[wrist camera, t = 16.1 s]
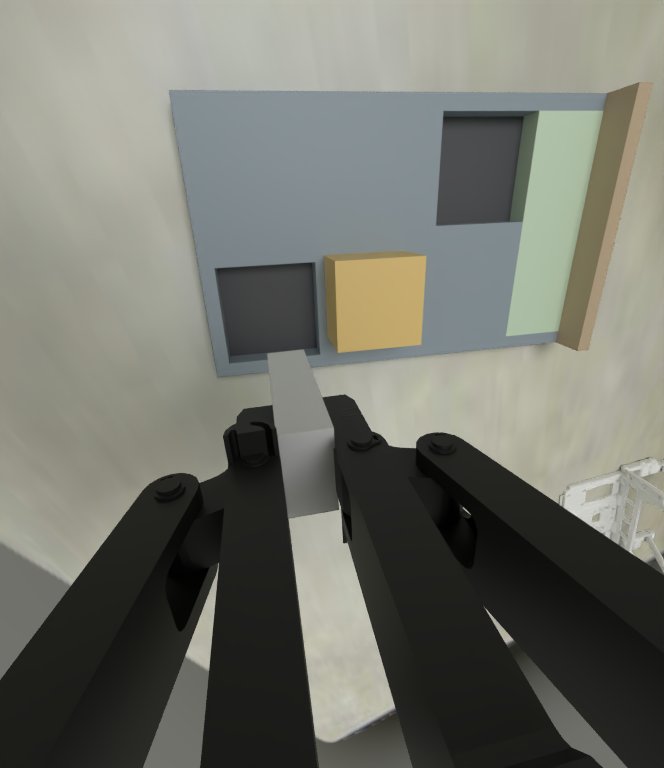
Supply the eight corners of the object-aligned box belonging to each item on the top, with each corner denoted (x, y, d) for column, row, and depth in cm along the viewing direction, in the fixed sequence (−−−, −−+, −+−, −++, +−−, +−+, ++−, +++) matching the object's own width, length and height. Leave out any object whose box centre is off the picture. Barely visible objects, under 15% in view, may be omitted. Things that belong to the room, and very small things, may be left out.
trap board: (219, 367, 32) (214, 390, 27) (175, 99, 24) (159, 76, 20) (550, 334, 36) (588, 350, 32) (596, 101, 29) (653, 82, 25)
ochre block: (327, 336, 30) (337, 352, 26) (324, 255, 28) (334, 261, 24) (401, 329, 31) (421, 344, 27) (404, 250, 29) (426, 255, 25)
